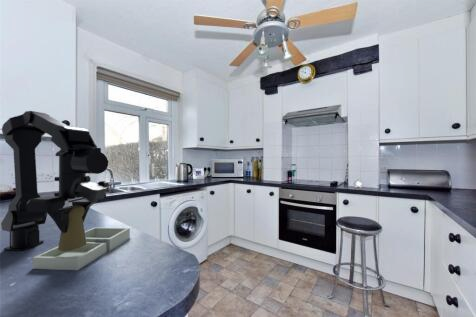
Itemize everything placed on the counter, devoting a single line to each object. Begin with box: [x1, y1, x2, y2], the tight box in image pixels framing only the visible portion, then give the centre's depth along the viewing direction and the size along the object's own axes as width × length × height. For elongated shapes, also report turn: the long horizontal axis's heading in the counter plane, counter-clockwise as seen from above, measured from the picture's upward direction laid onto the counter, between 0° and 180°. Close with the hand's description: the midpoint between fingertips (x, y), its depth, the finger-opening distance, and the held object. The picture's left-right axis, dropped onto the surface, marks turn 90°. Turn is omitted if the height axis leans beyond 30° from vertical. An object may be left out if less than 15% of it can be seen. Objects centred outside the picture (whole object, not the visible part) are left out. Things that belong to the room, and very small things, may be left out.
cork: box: [57, 205, 86, 251], centre depth 56 cm, size 6×6×11 cm
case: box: [84, 226, 131, 252], centre depth 66 cm, size 13×11×4 cm
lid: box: [32, 242, 108, 271], centre depth 56 cm, size 12×10×3 cm
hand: (72, 229), depth 56 cm, fingers closed on cork, 4 cm apart
